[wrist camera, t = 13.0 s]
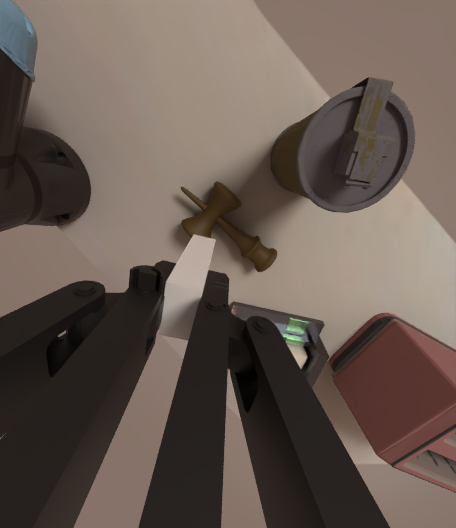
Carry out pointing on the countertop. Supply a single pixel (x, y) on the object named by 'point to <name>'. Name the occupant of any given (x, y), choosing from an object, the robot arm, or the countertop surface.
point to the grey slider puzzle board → (293, 335)
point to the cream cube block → (298, 354)
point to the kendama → (227, 225)
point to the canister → (347, 148)
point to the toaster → (402, 396)
